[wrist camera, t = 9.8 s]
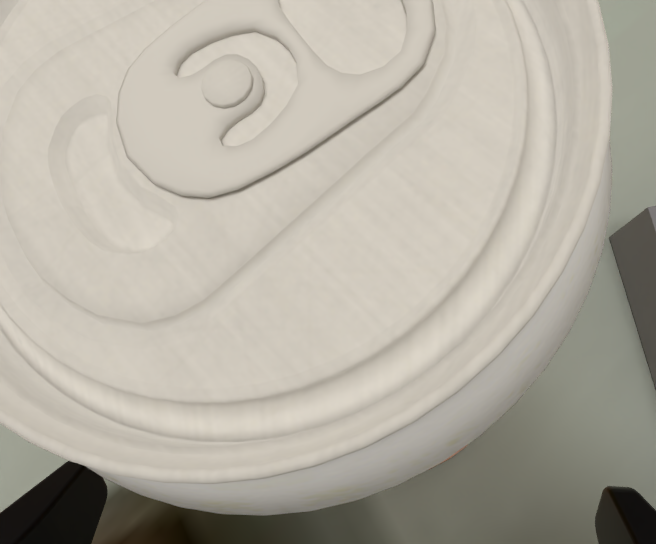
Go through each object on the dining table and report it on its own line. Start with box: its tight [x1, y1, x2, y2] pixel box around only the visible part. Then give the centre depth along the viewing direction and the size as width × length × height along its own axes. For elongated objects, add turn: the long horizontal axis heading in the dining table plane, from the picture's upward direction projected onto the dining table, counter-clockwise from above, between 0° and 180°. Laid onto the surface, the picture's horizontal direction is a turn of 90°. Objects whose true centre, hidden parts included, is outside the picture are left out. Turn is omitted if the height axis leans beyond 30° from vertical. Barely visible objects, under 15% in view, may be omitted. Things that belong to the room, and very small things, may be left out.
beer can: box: [0, 0, 612, 515], centre depth 11 cm, size 6×6×15 cm
